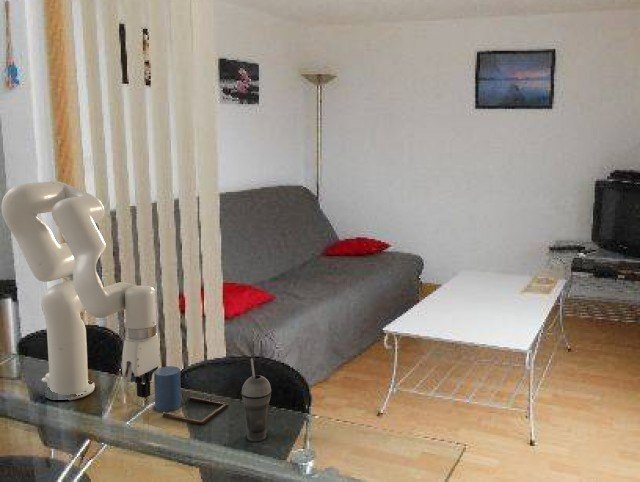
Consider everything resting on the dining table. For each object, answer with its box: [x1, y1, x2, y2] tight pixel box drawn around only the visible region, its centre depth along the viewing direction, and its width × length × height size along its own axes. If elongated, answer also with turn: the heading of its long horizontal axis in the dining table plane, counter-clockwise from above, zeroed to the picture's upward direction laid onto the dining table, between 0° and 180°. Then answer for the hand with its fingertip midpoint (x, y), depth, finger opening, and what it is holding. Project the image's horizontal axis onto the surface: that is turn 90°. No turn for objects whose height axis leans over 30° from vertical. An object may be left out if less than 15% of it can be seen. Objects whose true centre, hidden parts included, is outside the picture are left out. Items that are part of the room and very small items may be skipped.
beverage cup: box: [240, 357, 273, 442], centre depth 148 cm, size 7×7×20 cm
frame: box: [162, 396, 229, 426], centre depth 161 cm, size 12×12×1 cm
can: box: [153, 365, 182, 412], centre depth 163 cm, size 7×7×10 cm
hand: (143, 395), depth 166 cm, fingers closed
